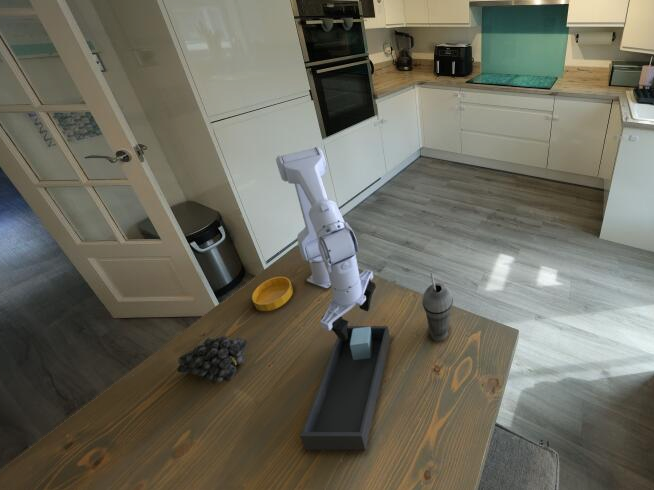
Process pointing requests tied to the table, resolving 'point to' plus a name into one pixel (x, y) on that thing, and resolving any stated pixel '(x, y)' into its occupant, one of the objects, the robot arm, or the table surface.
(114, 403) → the table surface
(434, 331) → the beverage cup
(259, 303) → the bowl
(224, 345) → the fruit
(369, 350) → the toy block
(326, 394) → the bin
